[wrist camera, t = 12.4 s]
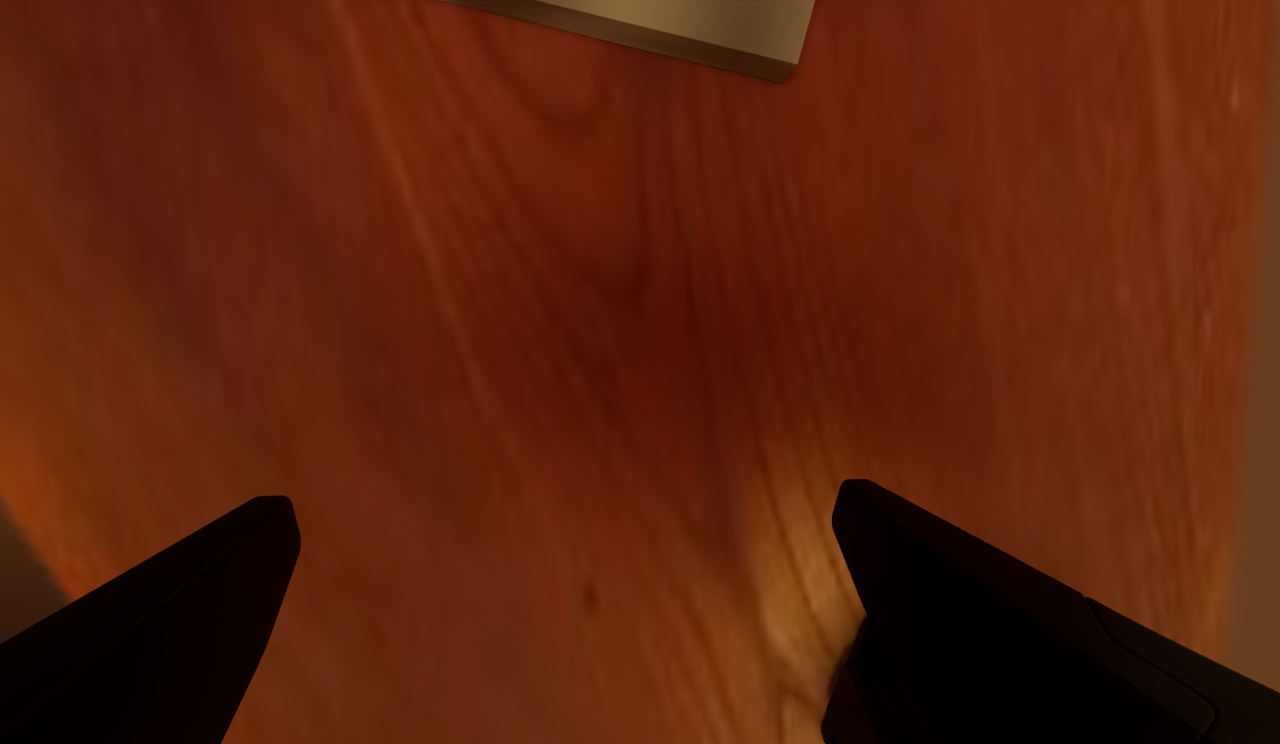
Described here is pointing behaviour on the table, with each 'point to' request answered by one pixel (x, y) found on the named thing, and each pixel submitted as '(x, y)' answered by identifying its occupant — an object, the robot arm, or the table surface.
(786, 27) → the serving board
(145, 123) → the table surface
